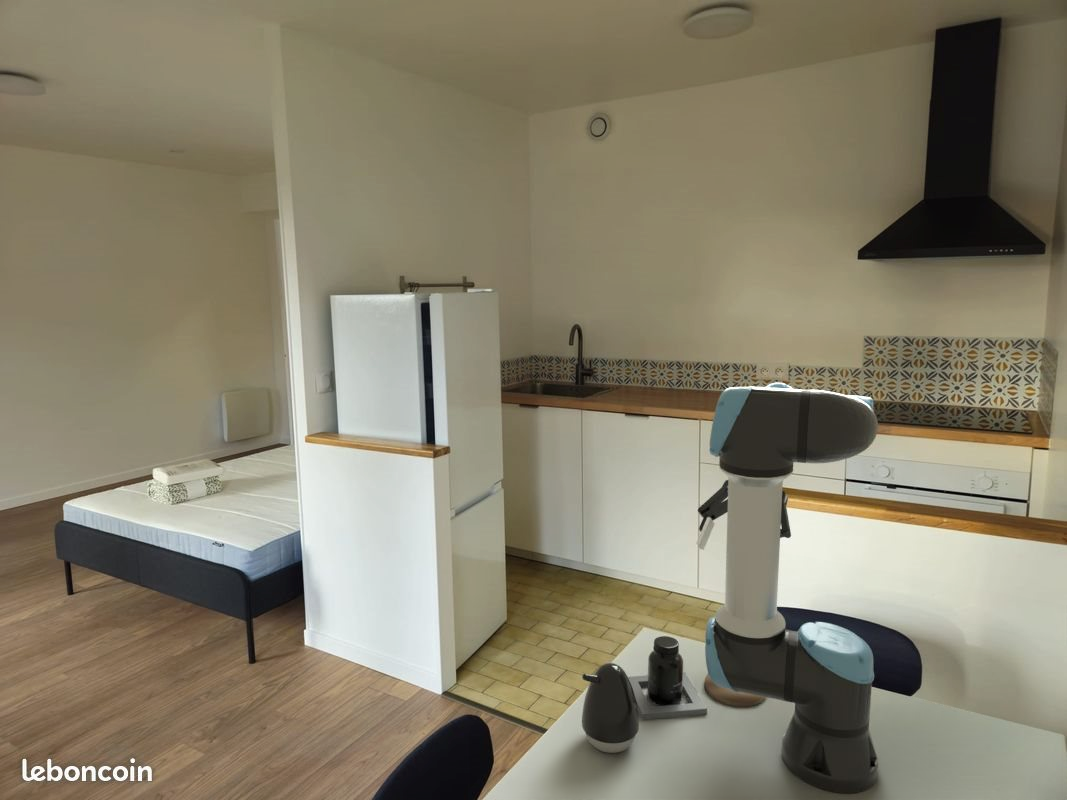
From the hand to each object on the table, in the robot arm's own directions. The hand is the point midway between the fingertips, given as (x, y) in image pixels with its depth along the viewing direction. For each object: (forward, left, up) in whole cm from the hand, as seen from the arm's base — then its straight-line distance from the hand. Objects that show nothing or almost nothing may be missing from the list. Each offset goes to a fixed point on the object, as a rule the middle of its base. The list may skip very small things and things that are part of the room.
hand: (729, 554), depth 144 cm
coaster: (-7, +1, -26) cm, 27 cm away
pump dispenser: (-20, +30, -26) cm, 44 cm away
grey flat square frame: (-8, +16, -26) cm, 31 cm away
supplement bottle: (-8, +16, -26) cm, 31 cm away
